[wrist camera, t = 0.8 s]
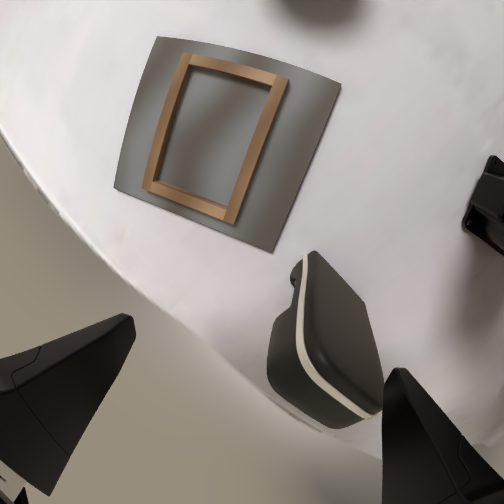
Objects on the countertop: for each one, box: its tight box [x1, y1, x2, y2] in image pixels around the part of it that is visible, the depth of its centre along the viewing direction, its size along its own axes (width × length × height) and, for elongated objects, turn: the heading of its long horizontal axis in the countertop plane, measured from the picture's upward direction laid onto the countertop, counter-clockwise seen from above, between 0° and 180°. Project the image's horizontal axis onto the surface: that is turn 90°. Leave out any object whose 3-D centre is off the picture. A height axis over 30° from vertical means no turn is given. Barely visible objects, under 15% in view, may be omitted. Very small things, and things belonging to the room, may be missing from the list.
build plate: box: [114, 36, 341, 252], centre depth 18 cm, size 14×13×1 cm
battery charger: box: [267, 251, 384, 429], centre depth 17 cm, size 7×4×11 cm, turn 46°
